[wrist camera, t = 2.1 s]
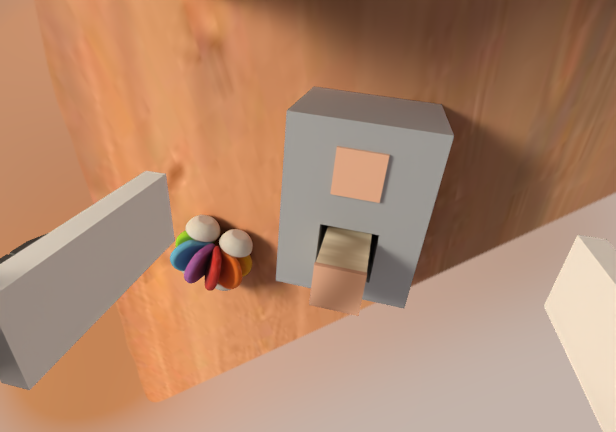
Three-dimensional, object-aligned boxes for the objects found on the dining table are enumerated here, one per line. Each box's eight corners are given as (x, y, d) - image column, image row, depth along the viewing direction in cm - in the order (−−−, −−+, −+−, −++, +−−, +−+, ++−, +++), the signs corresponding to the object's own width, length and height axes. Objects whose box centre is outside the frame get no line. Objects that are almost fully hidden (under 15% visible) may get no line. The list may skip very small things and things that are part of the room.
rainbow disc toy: (246, 283, 51) (225, 322, 45) (180, 253, 51) (149, 288, 45) (265, 235, 46) (244, 270, 40) (193, 202, 46) (160, 232, 40)
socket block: (300, 228, 45) (274, 282, 36) (313, 86, 37) (285, 111, 28) (403, 248, 43) (404, 310, 34) (441, 104, 35) (454, 137, 26)
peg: (328, 244, 38) (308, 304, 30) (333, 209, 36) (314, 264, 28) (367, 251, 37) (358, 315, 29) (374, 217, 35) (366, 275, 28)
